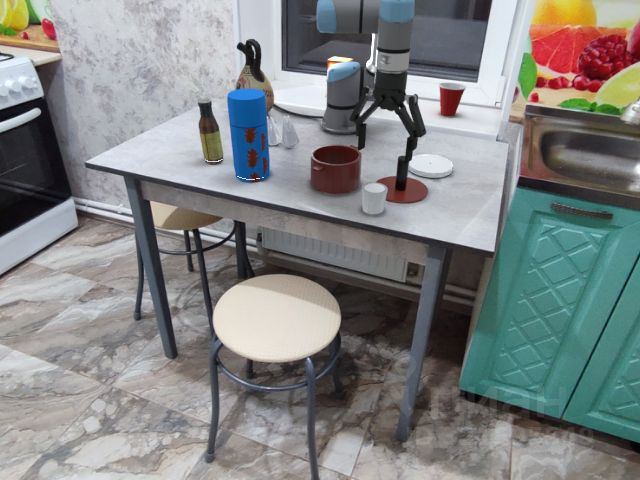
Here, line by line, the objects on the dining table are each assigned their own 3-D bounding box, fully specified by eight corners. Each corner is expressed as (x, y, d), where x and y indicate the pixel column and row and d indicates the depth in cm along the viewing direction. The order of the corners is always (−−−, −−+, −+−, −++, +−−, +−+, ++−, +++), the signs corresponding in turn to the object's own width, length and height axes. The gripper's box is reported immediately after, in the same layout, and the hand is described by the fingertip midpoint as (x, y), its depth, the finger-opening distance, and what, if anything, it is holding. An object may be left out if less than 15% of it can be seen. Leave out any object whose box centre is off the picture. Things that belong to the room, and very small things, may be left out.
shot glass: (384, 218, 126) (386, 195, 122) (358, 215, 127) (359, 192, 123) (386, 205, 132) (388, 183, 128) (361, 203, 133) (363, 180, 129)
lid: (362, 194, 137) (364, 160, 131) (389, 174, 147) (392, 142, 141) (412, 211, 129) (417, 175, 123) (436, 189, 140) (441, 155, 134)
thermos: (236, 167, 151) (228, 88, 137) (270, 166, 152) (265, 87, 138) (234, 183, 142) (225, 100, 128) (270, 182, 143) (265, 99, 129)
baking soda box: (326, 96, 212) (327, 58, 203) (333, 92, 217) (334, 55, 208) (345, 99, 208) (347, 61, 199) (352, 95, 213) (353, 58, 204)
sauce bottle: (227, 158, 157) (220, 98, 145) (218, 166, 152) (210, 105, 140) (209, 156, 158) (201, 96, 147) (200, 163, 153) (191, 102, 142)
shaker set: (300, 146, 165) (299, 115, 159) (295, 150, 162) (294, 119, 156) (270, 140, 169) (268, 110, 163) (264, 145, 166) (262, 114, 160)
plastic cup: (465, 113, 195) (470, 83, 188) (456, 120, 187) (461, 90, 181) (440, 108, 200) (444, 79, 193) (430, 115, 192) (434, 85, 185)
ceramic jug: (228, 116, 190) (220, 36, 173) (260, 108, 198) (254, 31, 182) (253, 128, 179) (247, 44, 163) (285, 118, 188) (282, 38, 171)
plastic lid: (442, 184, 142) (444, 177, 141) (399, 173, 148) (400, 166, 147) (458, 167, 152) (459, 160, 150) (417, 157, 158) (418, 150, 157)
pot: (295, 189, 139) (294, 160, 134) (333, 166, 152) (334, 138, 147) (337, 204, 132) (338, 173, 127) (373, 178, 145) (375, 149, 140)
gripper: (337, 65, 114) (335, 148, 125) (435, 82, 102) (422, 172, 114) (354, 59, 119) (350, 139, 131) (448, 74, 107) (435, 161, 119)
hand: (384, 155), depth 122 cm, fingers open, 13 cm apart
